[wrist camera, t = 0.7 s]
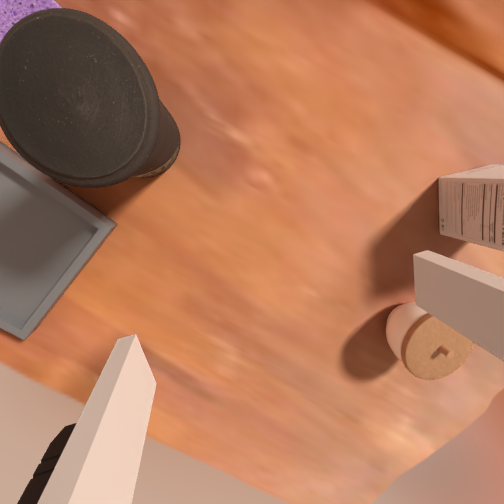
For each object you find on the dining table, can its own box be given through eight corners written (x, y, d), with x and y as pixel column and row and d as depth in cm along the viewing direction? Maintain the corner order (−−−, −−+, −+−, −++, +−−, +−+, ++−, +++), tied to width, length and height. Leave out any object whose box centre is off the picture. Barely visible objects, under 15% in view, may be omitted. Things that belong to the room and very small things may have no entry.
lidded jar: (428, 279, 46) (482, 306, 37) (437, 334, 49) (488, 370, 40) (367, 304, 45) (407, 337, 36) (380, 358, 48) (420, 400, 40)
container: (98, 166, 34) (-35, 160, 15) (113, 86, 32) (-19, -40, 13) (172, 188, 36) (139, 207, 17) (190, 113, 34) (175, 39, 15)
